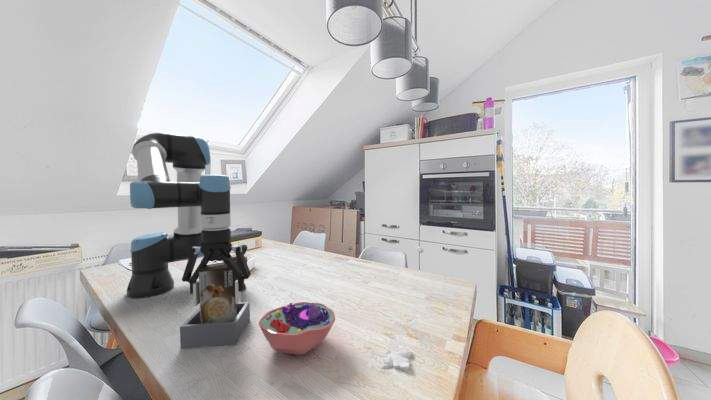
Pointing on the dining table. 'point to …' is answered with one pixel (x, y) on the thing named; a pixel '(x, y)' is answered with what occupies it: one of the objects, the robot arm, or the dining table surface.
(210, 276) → the coffee box
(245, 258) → the mortar and pestle
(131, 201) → the robot arm
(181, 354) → the dining table surface
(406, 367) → the acanthus leaf ornament
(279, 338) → the cell model
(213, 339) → the open square bin
